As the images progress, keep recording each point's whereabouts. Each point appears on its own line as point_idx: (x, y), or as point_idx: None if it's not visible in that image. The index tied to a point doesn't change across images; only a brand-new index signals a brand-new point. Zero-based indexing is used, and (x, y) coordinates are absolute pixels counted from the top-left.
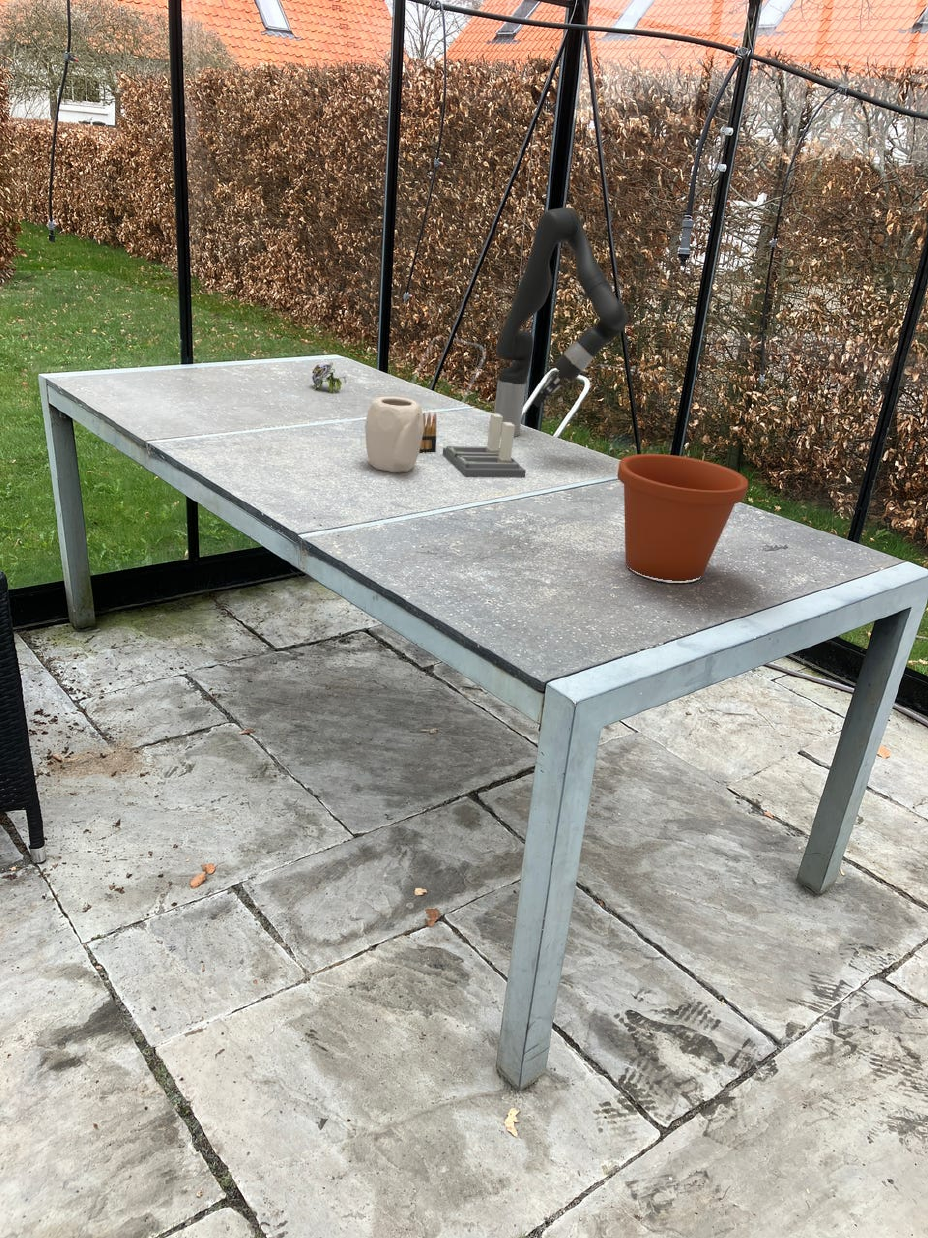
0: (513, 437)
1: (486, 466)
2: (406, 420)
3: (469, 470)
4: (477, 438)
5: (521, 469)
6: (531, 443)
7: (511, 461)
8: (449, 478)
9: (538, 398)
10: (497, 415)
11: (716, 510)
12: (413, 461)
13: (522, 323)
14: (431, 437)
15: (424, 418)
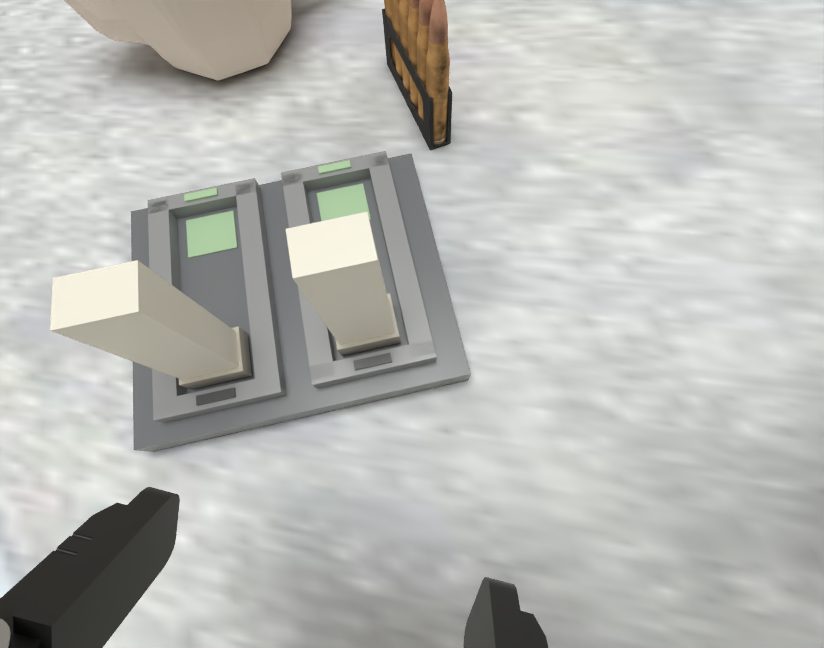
0: (109, 352)
1: None
2: None
3: (132, 223)
4: (725, 317)
5: (147, 431)
6: (777, 600)
7: (182, 385)
8: (127, 177)
9: (53, 561)
10: (318, 246)
11: None
12: (172, 54)
13: None
14: (420, 88)
15: None
